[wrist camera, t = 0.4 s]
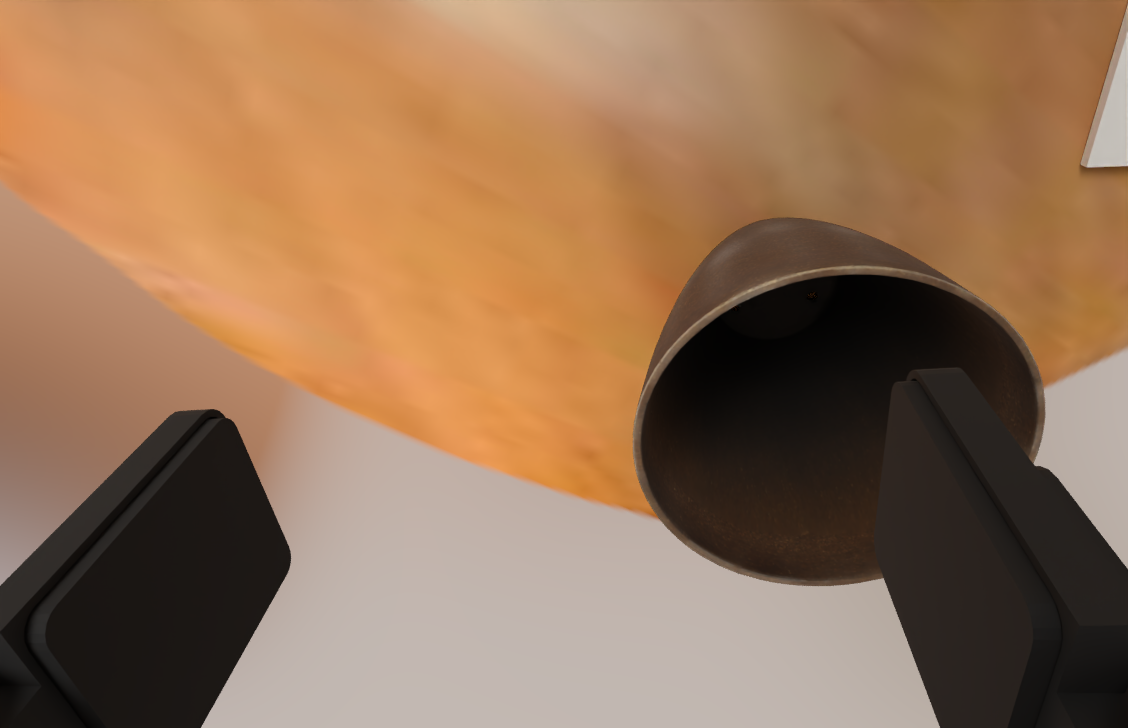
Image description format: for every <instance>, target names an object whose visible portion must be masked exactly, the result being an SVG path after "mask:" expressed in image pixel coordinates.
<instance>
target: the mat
mask: <svg viewBox="0 0 1128 728" xmlns="http://www.w3.org/2000/svg"><path fill="white" fill-rule="evenodd" d="M1080 165H1082V166H1084V167H1086V168H1088V167H1114V166H1128V5H1127V9H1126V12H1125V15H1124V19H1123V22H1122V25H1121V29H1120V32H1119V36H1118V39H1117V42H1116V46H1115V49H1114V52H1113V56H1112V59H1111V62H1110V66H1109V69H1108V72H1107V76H1106V79H1105V83H1104V86H1103V89H1102V93H1101V96H1100V99H1099V103H1098V106H1097V109H1096V113H1095V116H1094V120H1093V123H1092V126H1091V130H1090V133H1089V136H1088V140H1087V143H1086V146H1085V150H1084V153H1083V156H1082V160H1081V163H1080Z"/></svg>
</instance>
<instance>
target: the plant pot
mask: <svg viewBox="0 0 1128 728" xmlns="http://www.w3.org/2000/svg"><path fill="white" fill-rule="evenodd" d="M811 292H816V293H817V295H818V297H817V298H816V299H815V300H809V299H807V295H808V294H809V293H811ZM736 305H737V306H738V307H739V310H738V311H733V310H731V308H733V307H734V306H736ZM956 367H957V368H961V369H962V370H963V371H964V372H965V373H966V374H967V376H968V377H969V378H970V380H971V381H972V382H973V384H974V385H975V386H976V388H977V389H978V390H979V392H980V393H981V394H982V396H983V397H984V398H985V400H986V401H987V402H988V404H989V405H990V406H991V408H992V409H993V410H994V412H995V413H996V414H997V416H998V417H999V418H1000V420H1001V421H1002V422H1003V424H1004V425H1005V427H1006V428H1007V429H1008V431H1009V432H1010V433H1011V435H1012V436H1013V437H1014V439H1015V440H1016V441H1017V443H1018V444H1019V445H1020V447H1021V448H1022V449H1023V451H1024V452H1025V453H1026V455H1027V456H1028V457H1029V459H1030V460H1031V461H1032V463H1034V461H1035V458H1036V456H1037V453H1038V450H1039V447H1040V443H1041V440H1042V434H1043V430H1044V423H1045V397H1044V389H1043V383H1042V379H1041V376H1040V372H1039V369H1038V367H1037V364H1036V362H1035V360H1034V357H1033V355H1032V353H1031V351H1030V350H1029V348H1028V346H1027V345H1026V343H1025V341H1024V340H1023V338H1022V337H1021V336H1020V334H1019V333H1018V332H1017V331H1016V329H1015V328H1014V327H1013V326H1012V325H1011V324H1010V323H1009V322H1008V320H1007V319H1006V318H1004V317H1003V316H1002V315H1001V314H1000V313H999V312H998V311H996V310H995V309H994V308H993V307H992V306H990V305H989V304H987V303H986V302H985V301H983V300H982V299H980V298H979V297H977V296H976V295H974V294H972V293H971V292H969V291H968V290H966V289H965V288H963V287H962V286H960V285H959V284H957V283H956V282H954V281H952V280H951V279H949V278H948V277H946V276H945V275H943V274H941V273H940V272H938V271H937V270H935V269H933V268H932V267H930V266H928V265H927V264H925V263H924V262H922V261H920V260H919V259H917V258H915V257H913V256H911V255H910V254H908V253H906V252H904V251H902V250H900V249H898V248H896V247H894V246H892V245H889V244H887V243H885V242H883V241H880V240H878V239H876V238H873V237H871V236H868V235H866V234H863V233H861V232H858V231H855V230H852V229H849V228H846V227H842V226H839V225H835V224H831V223H828V222H822V221H817V220H810V219H803V218H773V219H767V220H762V221H758V222H755V223H752V224H749V225H747V226H745V227H743V228H741V229H739V230H737V231H736V232H734V233H733V234H731V235H730V236H728V237H727V238H726V239H725V240H723V241H722V242H721V243H720V244H719V245H718V246H716V247H715V248H714V249H713V250H712V251H711V253H710V254H709V255H708V256H707V257H706V258H705V259H704V260H703V262H702V263H701V264H700V265H699V267H698V268H697V269H696V271H695V272H694V273H693V275H692V276H691V278H690V279H689V281H688V282H687V284H686V286H685V287H684V289H683V290H682V292H681V294H680V295H679V297H678V299H677V301H676V303H675V305H674V307H673V309H672V311H671V313H670V315H669V317H668V319H667V322H666V324H665V326H664V328H663V330H662V333H661V335H660V338H659V340H658V343H657V345H656V348H655V351H654V353H653V356H652V359H651V362H650V365H649V369H648V372H647V375H646V379H645V382H644V385H643V389H642V392H641V396H640V400H639V403H638V408H637V412H636V417H635V421H634V430H633V457H634V464H635V468H636V473H637V477H638V480H639V483H640V485H641V488H642V490H643V492H644V495H645V497H646V499H647V501H648V502H649V504H650V506H651V507H652V509H653V511H654V512H655V513H656V515H657V516H658V518H659V519H660V520H661V521H662V522H663V524H664V525H665V526H666V527H667V528H668V529H669V530H670V531H671V532H672V533H673V534H674V535H675V536H676V537H677V538H678V539H679V540H680V541H682V542H683V543H684V544H685V545H687V546H688V547H689V548H690V549H692V550H693V551H695V552H696V553H698V554H699V555H701V556H702V557H704V558H706V559H708V560H710V561H712V562H714V563H715V564H717V565H719V566H722V567H724V568H726V569H729V570H731V571H734V572H736V573H739V574H743V575H746V576H749V577H753V578H756V579H760V580H765V581H769V582H775V583H781V584H789V585H802V586H834V585H845V584H854V583H861V582H866V581H871V580H876V579H881V578H884V577H883V575H882V572H881V569H880V567H879V564H878V561H877V558H876V553H875V546H874V531H875V522H876V514H877V506H878V498H879V490H880V482H881V473H882V465H883V457H884V449H885V441H886V433H887V424H888V416H889V408H890V400H891V392H892V387H893V385H894V383H896V382H904V381H906V380H907V376H908V374H909V372H911V371H912V370H921V369H939V368H956Z"/></svg>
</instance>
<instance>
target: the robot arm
mask: <svg viewBox="0 0 1128 728" xmlns="http://www.w3.org/2000/svg"><path fill="white" fill-rule="evenodd" d="M874 546H875V553H876V558H877V561H878V564H879V567H880V569H881V572H882V575H883V577H884V580H885V583H886V585H887V588H888V591H889V593H890V595H891V599H892V601H893V604H894V607H895V609H896V612H897V614H898V617H899V620H900V622H901V625H902V628H903V630H904V633H905V636H906V638H907V641H908V644H909V646H910V649H911V651H912V654H913V657H914V659H915V662H916V665H917V667H918V670H919V673H920V675H921V678H922V681H923V683H924V686H925V689H926V691H927V694H928V697H929V699H930V702H931V704H932V707H933V710H934V713H935V715H936V718H937V720H938V723H939V726H940V728H1128V569H1127V568H1126V566H1125V565H1124V564H1123V563H1122V562H1121V560H1120V559H1119V557H1118V556H1117V555H1116V553H1115V552H1114V551H1113V550H1112V548H1111V547H1110V546H1109V544H1108V543H1107V542H1106V540H1105V539H1104V538H1103V537H1102V535H1101V534H1100V533H1099V532H1098V530H1097V529H1096V527H1095V526H1094V525H1093V524H1092V522H1091V521H1090V520H1089V518H1088V517H1087V516H1086V514H1085V513H1084V512H1083V511H1082V509H1081V508H1080V507H1079V505H1078V504H1077V503H1076V501H1075V500H1074V499H1073V498H1072V496H1071V495H1070V494H1069V492H1068V491H1067V490H1066V489H1065V487H1064V486H1063V485H1062V483H1061V482H1060V481H1059V479H1058V478H1057V477H1056V476H1055V475H1054V474H1053V473H1052V472H1050V470H1048V469H1046V468H1043V467H1041V466H1034V464H1033V463H1032V461H1031V460H1030V459H1029V457H1028V456H1027V455H1026V453H1025V452H1024V451H1023V449H1022V448H1021V447H1020V445H1019V444H1018V443H1017V441H1016V440H1015V439H1014V437H1013V436H1012V435H1011V433H1010V432H1009V431H1008V429H1007V428H1006V427H1005V425H1004V424H1003V422H1002V421H1001V420H1000V418H999V417H998V416H997V414H996V413H995V412H994V410H993V409H992V408H991V406H990V405H989V404H988V402H987V401H986V400H985V398H984V397H983V396H982V394H981V393H980V392H979V390H978V389H977V388H976V386H975V385H974V384H973V382H972V381H971V380H970V378H969V377H968V376H967V374H966V373H965V372H964V371H963V370H962V369H961V368H957V367H956V368H939V369H921V370H912V371H911V372H909V374H908V376H907V380H906V381H904V382H896V383H894V385H893V387H892V392H891V400H890V408H889V416H888V424H887V433H886V441H885V449H884V457H883V465H882V473H881V482H880V490H879V498H878V506H877V514H876V522H875V531H874ZM290 563H291V553H290V549H289V546H288V544H287V541H286V539H285V537H284V534H283V532H282V530H281V528H280V525H279V523H278V521H277V518H276V516H275V514H274V511H273V509H272V507H271V505H270V503H269V500H268V498H267V495H266V493H265V491H264V489H263V486H262V484H261V482H260V479H259V477H258V475H257V473H256V470H255V468H254V466H253V463H252V461H251V459H250V457H249V454H248V452H247V450H246V447H245V445H244V443H243V440H242V438H241V436H240V434H239V431H238V429H237V427H236V425H235V424H234V422H233V421H232V420H230V419H228V418H225V416H224V415H223V414H222V413H221V412H220V411H218V410H214V409H208V410H191V411H178V412H175V413H173V414H172V415H170V416H169V417H168V418H167V419H166V420H165V421H164V422H163V423H162V424H161V425H160V426H159V427H158V428H157V429H156V430H155V431H154V432H153V433H152V434H151V435H150V436H149V437H148V438H147V439H146V440H145V441H144V442H143V443H142V444H141V445H140V446H139V447H138V448H137V449H136V450H135V451H134V452H133V453H132V454H131V455H130V456H129V457H128V458H127V459H126V460H125V461H124V462H123V463H122V464H121V465H120V466H119V467H118V468H117V469H116V470H115V471H114V472H113V473H112V474H111V475H110V476H109V477H108V478H107V480H105V481H104V483H102V484H101V485H100V486H99V487H98V488H97V489H96V490H95V491H94V492H93V493H92V494H91V495H90V496H89V497H88V498H87V499H86V500H85V501H84V502H83V503H82V504H81V505H80V506H79V507H78V508H77V509H76V510H75V511H74V512H73V513H72V514H71V515H70V516H69V517H68V518H67V519H66V520H65V522H63V523H62V524H61V525H60V527H58V528H57V529H56V530H55V531H54V532H53V533H52V534H51V535H50V536H49V537H48V538H47V539H46V540H45V541H44V542H43V544H42V545H41V546H40V547H39V548H38V549H36V551H34V552H33V553H32V555H31V556H30V557H29V558H28V559H26V560H25V561H24V562H23V564H22V565H21V566H20V567H19V568H18V569H17V570H16V571H15V572H14V573H13V574H12V575H11V576H10V577H9V578H8V579H7V580H6V581H5V582H4V583H3V584H2V585H1V586H0V728H201V726H202V725H203V723H204V721H205V719H206V717H207V716H208V714H209V712H210V710H211V708H212V707H213V705H214V703H215V701H216V700H217V698H218V696H219V694H220V693H221V691H222V689H223V687H224V685H225V684H226V682H227V680H228V678H229V676H230V675H231V673H232V671H233V669H234V668H235V666H236V664H237V662H238V660H239V659H240V657H241V655H242V653H243V652H244V650H245V648H246V646H247V645H248V643H249V641H250V639H251V637H252V636H253V634H254V632H255V630H256V629H257V627H258V625H259V623H260V621H261V620H262V618H263V616H264V614H265V612H266V611H267V609H268V607H269V605H270V604H271V602H272V600H273V598H274V597H275V595H276V593H277V591H278V589H279V588H280V586H281V584H282V582H283V581H284V579H285V577H286V575H287V573H288V571H289V568H290Z"/></svg>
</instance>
